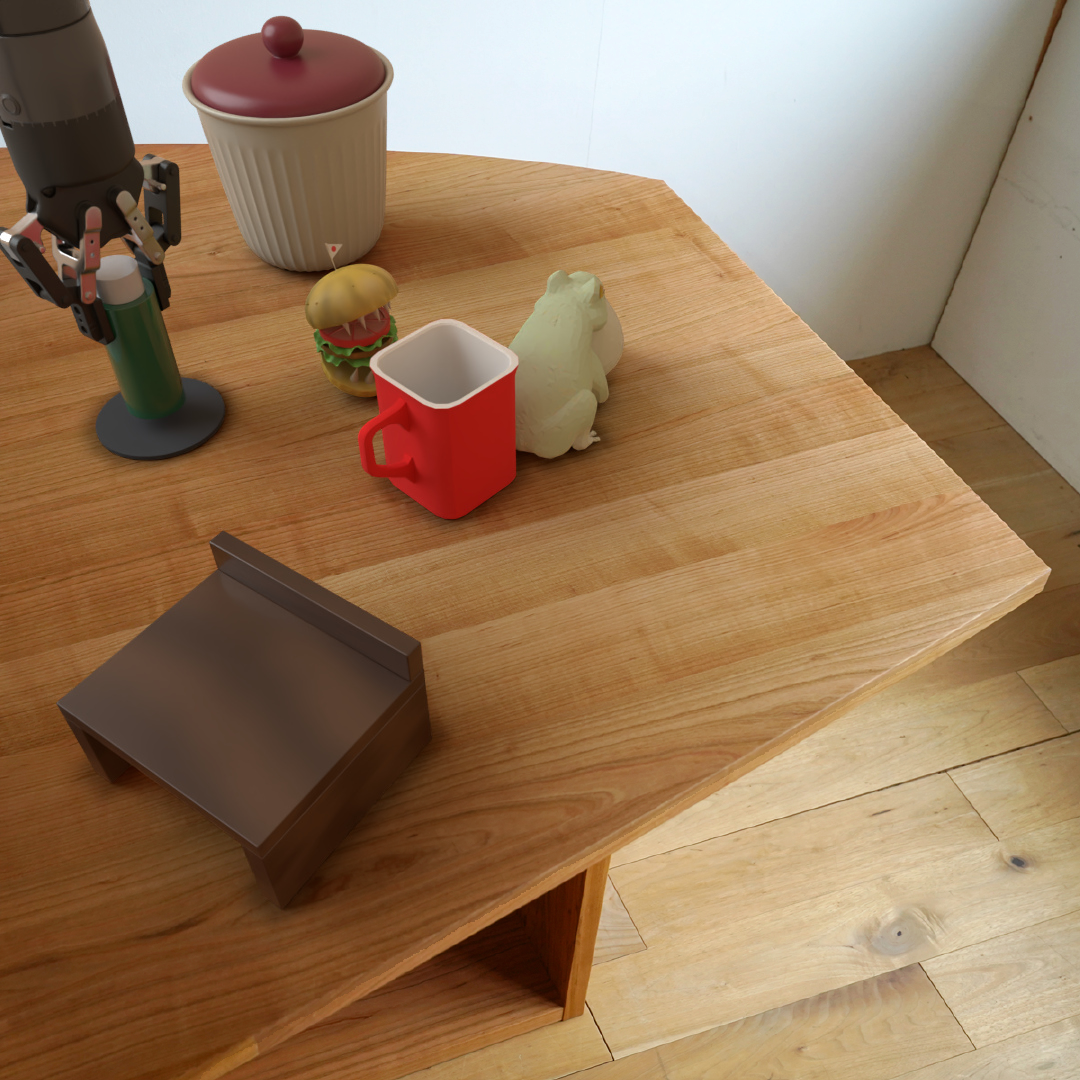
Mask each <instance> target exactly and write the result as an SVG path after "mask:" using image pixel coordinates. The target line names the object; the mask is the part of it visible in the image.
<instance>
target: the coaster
mask: <svg viewBox="0 0 1080 1080" xmlns="http://www.w3.org/2000/svg"><path fill="white" fill-rule="evenodd" d="M181 379H182V383H183V386H184V389H185V393H186V401H185V403H184V405H183V406H182V407H181V408H180V409H179V410H178V411H176V412H175V413H173V414H171V415H169V416H166V417H163V418H159V419H140V418H137V417H135V416H133V415H131V414H130V413H129V412H128V410H127V408H126V405H125V403H124V400H123V397H122V394H121V391H120V392H117V394H115V395H114V396H112V397H111V398H110V399H109V400H108V401H107V402H106V403H105V404H104V405H103V406H102V407H101V409H100V410H99V412H98V414H97V417H96V420H95V432H96V436H97V438H98V440H99V442H100V444H101V445H102V446H104V448H105V449H106V450H108V451H109V452H111V453H113V454H114V455H116V456H119V457H123V458H125V459H131V460H136V461H137V460H138V461H154V460H164V459H169V458H172V457H177V456H180V455H183V454H185V453H188V452H190V451H192V450H194V449H196V448H199V447H200V446H202V445H203V444H205V443H206V442H207V441H208V440H210V439H211V438H212V437H213V436H215V434H216V433H217V432H218V431H219V429H221V427H222V425H223V423H224V420H225V417H226V405H225V401H224V398H223V397H222V395H221V393H220V392H219V391H218V390H217V389H216V388H214V387H213V386H212V385H211V384H209V383H207V382H205V381H203V380H200V379H196V378H191V377H183V376H181Z"/></svg>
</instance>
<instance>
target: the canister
mask: <svg viewBox="0 0 1080 1080" xmlns="http://www.w3.org/2000/svg"><path fill="white" fill-rule="evenodd" d="M260 29H261V30H260V32H255V33H254V32H253V33H250V34H247V35H242V36H240V37H235V38H233V39H231V40H229V41H226V42H224V43H221V44H219V45H217V46H215V47H214V48H212V49H210V50H209V51H208V52H207V53H205V54H204V55H203V56H202V57H201V58H200V59H198V60H196V62H194V63H193V64H192V65H191V66H190V67H189V68H188V69H187V71H185V74H184V75H183V78H182V82H181V88H182V93H183V95H184V96H185V98H186V99H187V101H188V103H190V104H191V106H193V107H194V108H195V109H196V112H197V115H198V118H199V121H200V125H201V127H202V131H203V133H204V136H205V139H206V142H207V144H208V148H209V151H210V153H211V157H212V159H213V162H214V165H215V168H216V170H217V171H216V172H217V173H218V176H219V179H220V182H221V185H222V188H223V190H224V194H225V197H226V199H227V202H228V204H229V207H230V209H231V212H232V215H233V217H234V220H235V223H236V225H237V228H238V230H239V232H240V234H241V236H242V238H243V240H244V242H245V243H246V245H247V246H248V248H249V250H251V251H252V252H253V254H254V255H256V257H258V258H260V259H261V260H262V261H263V262H265V263H267V264H270V265H271V266H272V267H278V268H279V269H281V270H288V271H291V272H292V271H296V272H300V273H301V272H308V273H311V272H318V273H319V272H322V271H330V270H332V269H335V268H336V269H339V268H341V267H346V266H348V264H352V263H355V262H357V260H360V259H362V258H363V257H364V256H365V255H367V254H369V252H370V251H371V249H373V248H374V247H375V246H376V244H377V242H378V241H379V239H380V237H381V234H382V232H383V228H384V224H385V217H386V216H385V215H386V197H387V192H386V191H387V163H388V162H387V161H388V159H387V157H388V154H387V153H388V151H387V149H388V148H387V147H388V91H389V90H390V88H391V87H392V85H393V82H394V77H395V72H394V70H395V69H394V67H393V64H392V63H391V61H390V59H389V58H388V57H387V56H386V55H385V54H384V53H382V52H381V51H379V50H378V49H376V48H374V47H372V46H371V45H368V44H366V43H364V42H362V41H360V40H359V39H357V38H354V37H352V36H349V35H346V34H342V33H338V32H333V31H328V30H321V29H312V28H311V29H310V28H303V26H302V25H301V24H300V23H299V21H297V20H296V19H294V18H293V17H291V16H288V15H275V16H273V17H270V18H268V19H267V20H266V21H264V23H263V25H262V27H261V28H260ZM326 243H327V244H343V245H342V246H341V248H340V249H339V250H338V252H337V253H336V254H335V256H334V257H333V262H334V265H335V267H334V265H333V262H332V260H331V257H330V255H329V253H328V250H327V248H326V245H325V244H326Z"/></svg>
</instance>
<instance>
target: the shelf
mask: <svg viewBox="0 0 1080 1080" xmlns="http://www.w3.org/2000/svg"><path fill="white" fill-rule="evenodd" d="M208 543H209V546H210V550H211V553H212V557H213V559H214V562H215V566H216V568H217V569H215V570H214V571H213V572H212V573H211V574H209V575H208V576H207V577H205V579H203V580H202V581H201V582H200V583H199V584H198V585H196V586H195V587H194V588H193V589H191V590H190V591H189V592H188V593H187V594H185V595H184V596H183V597H182V598H181V599H180V600H178V601H177V602H176V603H174V604H173V605H172V606H171V607H169V608H168V609H167V610H166V611H165V612H164V613H163V614H161V615H160V616H159V617H158V618H156V619H155V620H154V621H153V622H152V623H150V624H149V625H148V626H147V627H146V628H144V629H143V630H142V631H141V632H139V633H138V634H137V635H136V636H135V637H134V638H132V639H131V640H130V641H129V642H127V643H126V644H125V645H124V646H123V647H121V649H119V650H118V651H116V652H115V654H113V655H112V656H111V657H109V658H108V659H107V660H106V661H105V662H103V663H102V664H101V665H100V666H99V667H98V668H96V669H95V670H94V671H92V672H91V673H90V674H89V675H88V676H87V677H85V678H84V679H83V680H81V681H80V682H79V683H78V684H77V685H75V686H74V688H72V689H71V690H69V692H67V693H66V694H65V695H63V696H62V697H61V698H60V699H59V700H57V702H56V706H57V707H58V710H59V712H60V713H61V714H62V716H63V718H64V720H65V721H66V723H67V725H68V727H69V729H70V730H71V733H72V734H73V735H74V737H75V739H76V742H77V743H78V745H79V746H80V747H81V750H82V751H83V753H84V754H85V757H86V758H87V760H88V762H89V764H90V766H91V767H92V770H93V771H94V772H95V773H96V774H98V776H100V777H102V778H103V779H104V780H106V781H107V782H108V783H110V784H113V783H114V782H115V781H116V780H117V779H118V778H120V776H121V775H123V774H124V773H125V772H126V771H127V770H129V768H130V767H131V766H132V767H134V768H135V769H137V770H138V771H139V772H141V773H142V774H144V775H145V776H146V777H148V778H149V779H150V780H152V781H153V782H155V783H156V784H157V785H158V786H160V787H162V788H163V789H164V790H166V791H167V792H169V793H170V794H171V795H173V796H174V797H176V799H178V800H179V801H180V802H182V803H184V804H185V805H187V806H188V807H190V809H192V810H194V811H195V812H196V813H197V814H199V815H200V816H202V817H203V818H205V819H206V820H207V821H209V822H210V823H211V824H213V825H215V826H216V827H217V828H218V829H220V830H221V831H223V832H224V833H225V834H227V835H228V836H229V837H231V838H232V839H233V840H235V841H237V842H238V843H239V844H240V845H241V847H242V850H243V853H244V855H245V857H246V860H247V862H248V865H249V867H250V869H251V871H252V875H253V876H254V879H255V881H256V884H257V886H258V888H259V891H260V893H261V896H263V897H264V898H266V899H267V900H268V901H269V902H270V903H272V904H273V905H275V906H276V907H277V908H279V909H280V910H283V909H284V908H285V907H286V906H287V904H289V903H290V902H291V900H292V899H293V898H294V897H295V896H296V894H297V893H298V892H299V891H300V890H301V889H302V888H303V886H304V885H305V884H306V883H307V882H308V881H309V880H310V878H311V877H312V876H313V875H314V874H315V873H316V872H317V871H318V870H319V868H320V867H321V866H322V865H323V864H324V863H325V861H326V860H327V859H328V858H329V857H330V855H331V854H332V853H333V852H334V851H335V850H336V849H337V848H338V846H339V845H340V844H341V843H342V842H343V841H344V840H345V839H346V837H347V836H348V835H349V834H350V833H351V832H352V830H353V829H354V828H355V827H356V826H357V825H358V823H359V822H360V821H361V820H362V819H363V818H364V817H365V815H366V814H368V812H369V811H370V810H371V808H373V807H374V806H375V804H376V803H377V802H378V801H379V800H380V799H381V797H382V796H383V795H384V794H385V792H387V790H388V789H389V788H390V787H391V786H392V785H393V784H394V782H395V781H396V780H397V779H398V778H399V776H401V775H402V773H403V772H404V771H405V770H406V769H407V767H408V766H409V765H410V764H411V763H413V761H414V759H416V757H417V756H418V755H419V754H420V753H421V751H422V750H423V749H424V748H425V747H426V746H427V744H428V743H429V742H430V741H431V740H432V739H433V736H432V735H433V732H432V725H431V716H430V709H429V708H430V707H429V700H428V699H429V698H428V692H427V691H428V689H427V682H426V672H425V668H424V658H423V650H422V642H421V641H420V640H418V639H417V638H414V637H412V636H411V635H409V634H407V633H406V632H404V631H402V630H400V629H398V628H396V627H395V626H393V625H391V624H389V623H388V622H387V621H384V620H383V619H380V618H379V617H377V616H375V615H373V614H372V613H370V612H368V611H367V610H365V609H363V608H362V607H360V606H358V605H356V604H354V603H353V602H351V601H349V600H347V599H345V598H344V597H342V596H340V595H339V594H337V593H335V592H333V591H331V590H330V589H328V588H326V587H324V586H322V585H320V584H319V583H317V582H316V581H314V580H312V579H310V578H308V577H306V576H305V575H304V574H301V573H299V572H297V571H296V570H294V569H292V568H290V567H289V566H287V565H285V564H284V563H282V562H280V561H278V560H276V559H275V558H273V557H271V556H269V555H268V554H267V553H264V552H262V551H260V550H258V548H255V547H253V546H252V545H250V544H248V543H246V542H245V541H243V540H242V539H239V538H238V537H237V536H234V535H232V534H231V533H229V532H227V531H226V530H222V531H220V532H219V533H218V534H217V535H215V536H214V537H213V538H211V539H210V540H209V541H208Z"/></svg>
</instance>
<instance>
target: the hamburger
mask: <svg viewBox="0 0 1080 1080" xmlns="http://www.w3.org/2000/svg"><path fill="white" fill-rule="evenodd" d="M325 245H326V248H327V250H328V253H329V255H330V257H331V260H332V262H333V257H334V256H335V254H336V253H337V252H338V250H339V249H340V248H341V246H342V245H343V244H327V243H326V244H325ZM333 265H334V262H333ZM334 267H335V265H334ZM399 292H400V290H399V285H398V283H397V281H396V279H395V278H394V277H393V275H392V274H391V273H390V272H389V271H387V270H386V269H384V268H383V267H380V266H378V265H374V264H369V263H355V264H350V265H346V266H341V267H339V268H334V270H333V271H331V272H328V274H326V275H324V276H323V277H322V278H321V279H319V280H318V281H317V282H316V283H314V285H313V286H312V288H311V289H310V291H309V292H308V294H307V296H306V299H305V302H304V315H305V319H306V321H307V323H308V324H309V326H310V327H311V328H312V329H313V330H314V332H313V339H314V342H315V343H316V344H315V348H316V353H317V354H318V353H319V358H320V365H321V369H322V371H323V373H324V375H325V377H326V378H327V379H328V381H329V382H330V383H331V384H332V385H333V386H334V387H336V389H338V390H339V391H341V392H343V393H345V394H347V395H351V396H353V397H359V398H372V397H373V398H374V397H377V391H376V383H375V377H374V375H373V372H372V370H371V368H370V359H371V358H372V357H373V356H374V355H375V354H376V353H377V352H379V351H381V350H382V349H384V348H386V347H388V346H389V345H391V344H393V343H395V342H397V341H398V340H399V336H398V327H397V325H396V323H397V321H396V319H395V317H394V316H393V315H391V314H390V311H391V312H392V311H393V310H392V304H391V301H392V300H393V299H394V298H396V297H397V296H398V294H399Z"/></svg>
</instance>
